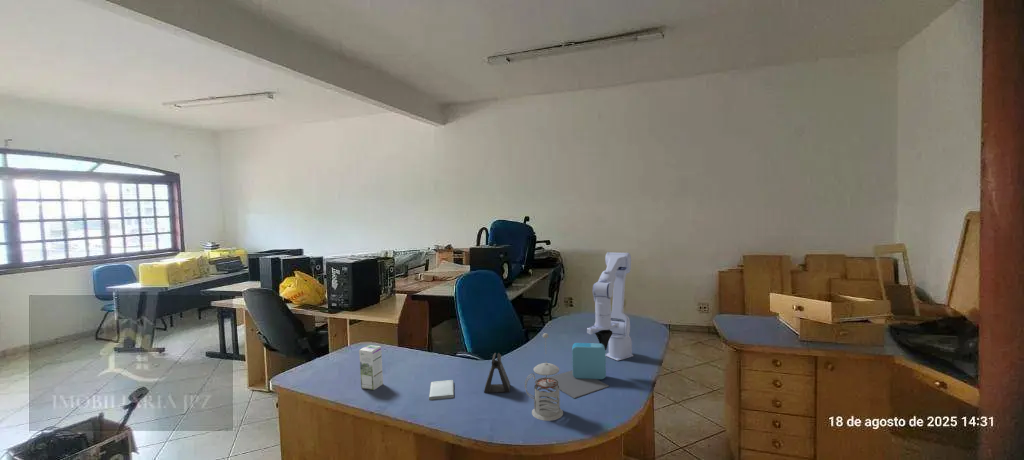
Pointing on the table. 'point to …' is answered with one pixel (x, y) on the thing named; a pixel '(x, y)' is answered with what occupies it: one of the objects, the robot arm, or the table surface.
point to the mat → (577, 384)
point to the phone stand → (505, 381)
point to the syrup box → (371, 367)
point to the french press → (544, 405)
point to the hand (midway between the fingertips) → (603, 349)
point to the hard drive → (441, 390)
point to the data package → (589, 360)
